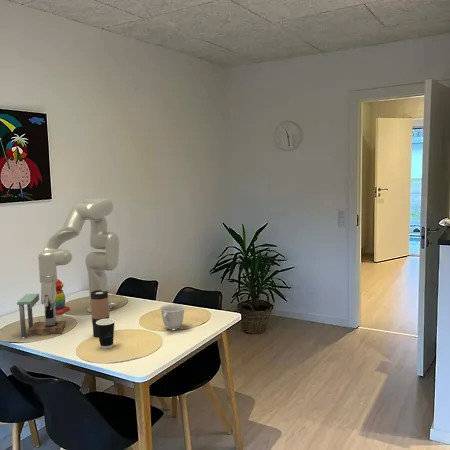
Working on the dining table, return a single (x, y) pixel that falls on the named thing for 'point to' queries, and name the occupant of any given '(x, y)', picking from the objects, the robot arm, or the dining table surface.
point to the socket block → (47, 328)
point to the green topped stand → (30, 301)
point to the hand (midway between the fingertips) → (50, 316)
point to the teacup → (172, 315)
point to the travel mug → (99, 308)
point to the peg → (53, 320)
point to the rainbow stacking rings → (60, 299)
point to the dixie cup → (106, 332)
